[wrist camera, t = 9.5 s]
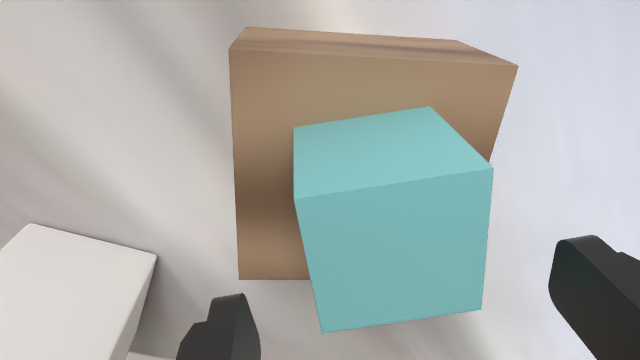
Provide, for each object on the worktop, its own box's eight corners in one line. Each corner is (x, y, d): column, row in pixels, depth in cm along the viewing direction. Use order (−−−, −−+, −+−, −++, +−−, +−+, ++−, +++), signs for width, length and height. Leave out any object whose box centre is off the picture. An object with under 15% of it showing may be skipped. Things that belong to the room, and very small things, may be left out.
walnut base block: (246, 26, 18) (229, 48, 12) (453, 39, 19) (518, 65, 13) (251, 207, 22) (238, 279, 17) (415, 210, 23) (452, 279, 18)
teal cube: (293, 127, 14) (293, 199, 9) (429, 105, 14) (493, 167, 9) (314, 236, 16) (322, 333, 12) (430, 218, 16) (481, 309, 12)
